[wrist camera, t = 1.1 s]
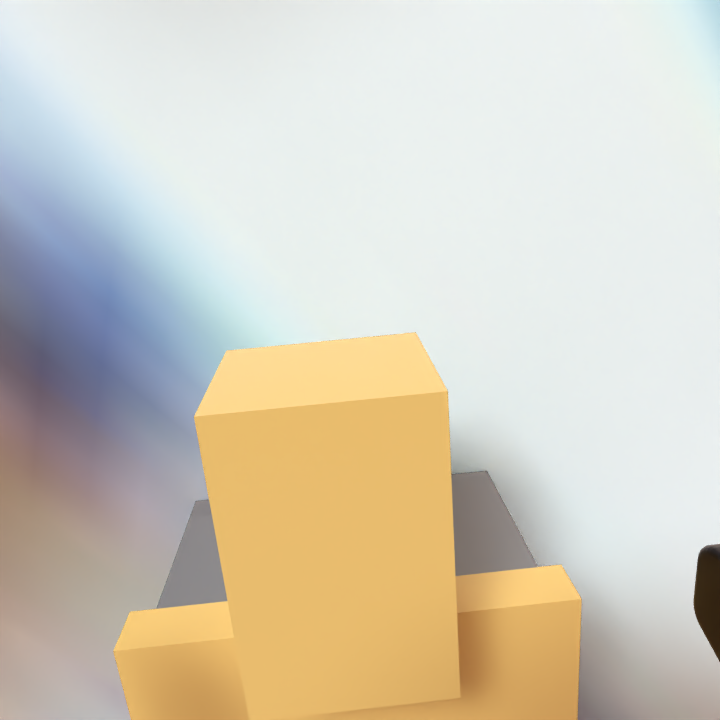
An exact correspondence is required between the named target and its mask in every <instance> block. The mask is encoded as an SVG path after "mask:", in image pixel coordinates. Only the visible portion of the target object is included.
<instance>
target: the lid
mask: <svg viewBox="0 0 720 720" xmlns="http://www.w3.org/2000/svg"><path fill="white" fill-rule="evenodd" d="M194 419H195V425H196V430H197V436H198V441H199V447H200V452H201V458H202V463H203V469H204V474H205V480H206V485H207V491H208V496H209V502H210V507H211V513H212V518H213V524H214V529H215V535H216V540H217V546H218V551H219V557H220V562H221V568H222V573H223V579H224V584H225V590H226V595H227V601H224V602H215V603H206V604H196V605H187V606H178V607H169V608H160V609H151V610H142V611H132V612H130V613H129V615H128V618H127V620H126V622H125V625H124V627H123V629H122V632H121V634H120V637H119V639H118V641H117V644H116V646H115V648H114V651H113V652H114V656H115V659H116V663H117V667H118V671H119V675H120V679H121V683H122V686H123V690H124V694H125V698H126V702H127V706H128V710H129V713H130V717H131V720H577V716H578V687H579V659H580V631H581V602H582V599H581V597H580V595H579V594H578V592H577V590H576V589H575V587H574V585H573V584H572V582H571V580H570V579H569V577H568V575H567V574H566V572H565V570H564V568H563V567H562V565H553V566H543V567H534V568H525V569H516V570H507V571H498V572H489V573H479V574H470V575H461V576H455V552H454V528H453V504H452V480H451V456H450V432H449V408H448V391H447V389H446V387H445V385H444V383H443V381H442V380H441V378H440V376H439V374H438V372H437V371H436V369H435V367H434V365H433V363H432V361H431V360H430V358H429V356H428V354H427V352H426V350H425V349H424V347H423V345H422V343H421V341H420V339H419V338H418V336H417V334H416V332H414V333H404V334H394V335H383V336H373V337H363V338H352V339H342V340H332V341H321V342H311V343H301V344H290V345H280V346H270V347H259V348H249V349H239V350H228V351H226V353H225V355H224V357H223V359H222V361H221V363H220V365H219V367H218V369H217V371H216V373H215V375H214V377H213V379H212V381H211V383H210V385H209V387H208V389H207V391H206V393H205V395H204V397H203V399H202V401H201V403H200V405H199V407H198V410H197V412H196V414H195V416H194Z"/></svg>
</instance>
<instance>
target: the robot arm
mask: <svg viewBox="0 0 720 720" xmlns="http://www.w3.org/2000/svg"><path fill="white" fill-rule="evenodd" d="M694 610H695V614H696V617H697V620H698V622H699V625H700V627H701V628H702V630H703V632H704V634H705V636H706V638H707V639H708V641H709V643H710V645H711V647H712V648H713V650H714V652H715V654H716V656H717V658H718V659H719V661H720V544H716V545H708V546H705V547H704V548H702V549H701V551H700V553H699V556H698V562H697V572H696V582H695V591H694Z"/></svg>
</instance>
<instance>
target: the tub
mask: <svg viewBox="0 0 720 720" xmlns="http://www.w3.org/2000/svg"><path fill="white" fill-rule="evenodd" d="M451 480H452V504H453V528H454V552H455V576H461V575H470V574H479V573H489V572H498V571H507V570H516V569H525V568H534V567H538V566H537V564H536V562H535V561H534V559H533V557H532V555H531V553H530V551H529V549H528V547H527V546H526V544H525V542H524V540H523V538H522V536H521V534H520V532H519V530H518V529H517V527H516V525H515V523H514V521H513V519H512V517H511V515H510V514H509V512H508V510H507V508H506V506H505V504H504V502H503V500H502V499H501V497H500V495H499V493H498V491H497V489H496V487H495V485H494V483H493V482H492V480H491V478H490V476H489V474H488V472H487V471H480V472H471V473H461V474H452V475H451ZM224 601H227V595H226V590H225V584H224V579H223V573H222V568H221V562H220V557H219V551H218V546H217V540H216V535H215V529H214V524H213V518H212V513H211V507H210V502H209V500H202V501H196V502H195V505H194V507H193V510H192V513H191V515H190V518H189V521H188V524H187V526H186V529H185V532H184V535H183V537H182V540H181V543H180V545H179V548H178V551H177V554H176V556H175V559H174V562H173V565H172V567H171V570H170V573H169V576H168V578H167V581H166V584H165V586H164V589H163V592H162V595H161V597H160V600H159V603H158V606H157V608H156V609H160V608H169V607H178V606H187V605H196V604H206V603H215V602H224Z"/></svg>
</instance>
